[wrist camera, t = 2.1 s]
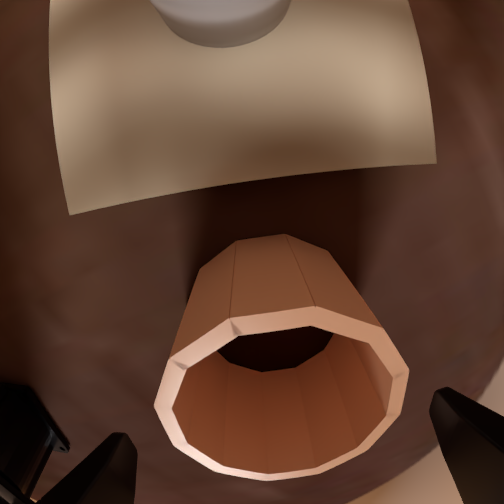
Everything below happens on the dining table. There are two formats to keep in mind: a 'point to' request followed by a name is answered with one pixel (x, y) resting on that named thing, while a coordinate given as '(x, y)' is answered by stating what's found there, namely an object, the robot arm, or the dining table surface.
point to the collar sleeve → (279, 381)
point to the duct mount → (231, 93)
